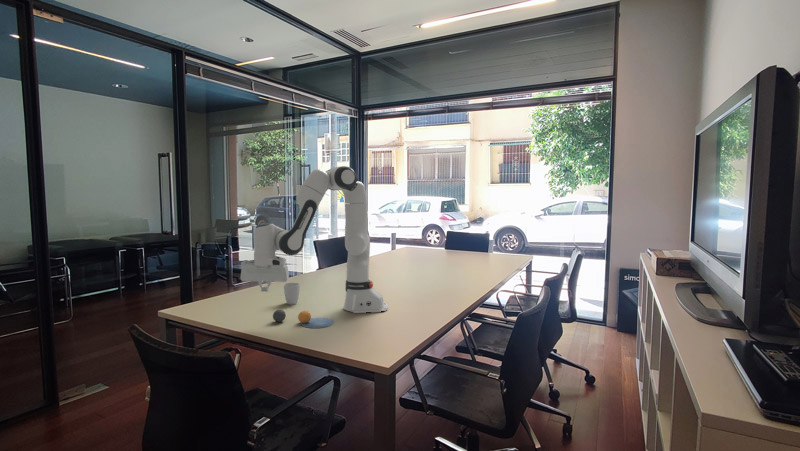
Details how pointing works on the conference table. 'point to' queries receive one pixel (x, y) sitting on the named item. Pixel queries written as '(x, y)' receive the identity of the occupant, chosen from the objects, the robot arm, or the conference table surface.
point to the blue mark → (318, 323)
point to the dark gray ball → (279, 315)
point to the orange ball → (304, 316)
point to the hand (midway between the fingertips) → (265, 291)
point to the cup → (291, 292)
